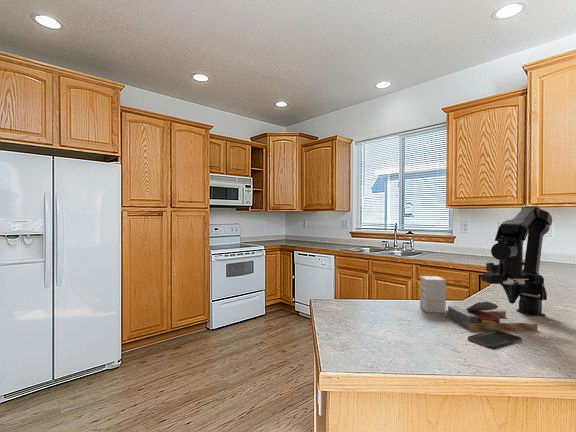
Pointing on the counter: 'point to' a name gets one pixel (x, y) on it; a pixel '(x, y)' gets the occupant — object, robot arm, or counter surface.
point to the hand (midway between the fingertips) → (511, 303)
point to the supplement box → (433, 294)
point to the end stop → (461, 316)
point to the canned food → (484, 316)
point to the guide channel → (500, 324)
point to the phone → (494, 339)
